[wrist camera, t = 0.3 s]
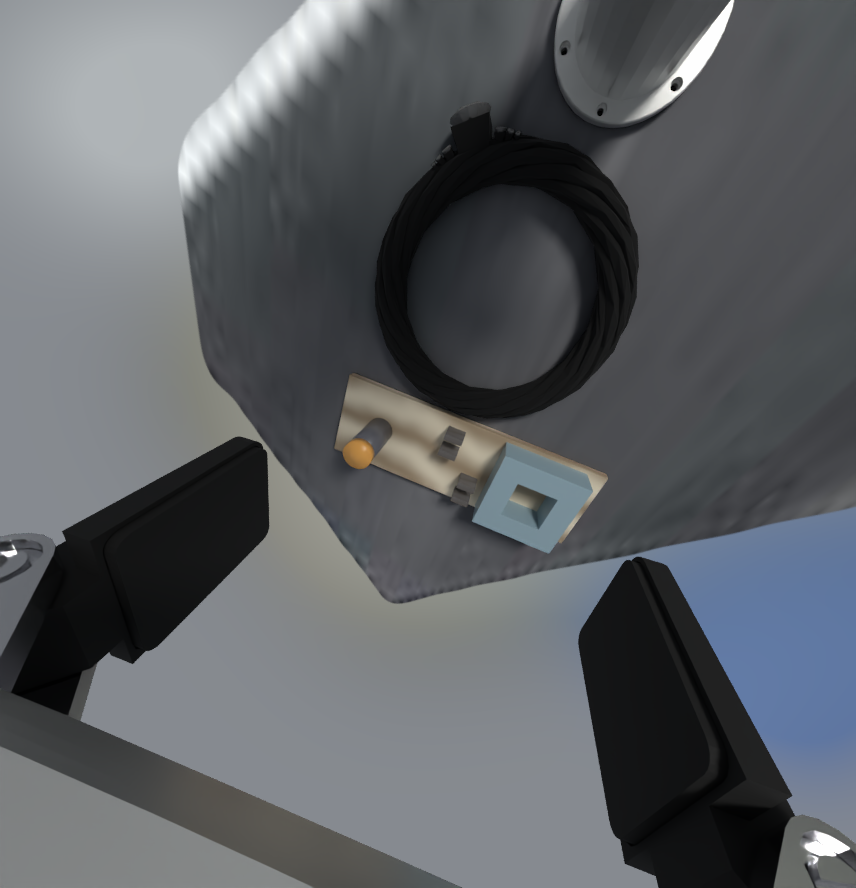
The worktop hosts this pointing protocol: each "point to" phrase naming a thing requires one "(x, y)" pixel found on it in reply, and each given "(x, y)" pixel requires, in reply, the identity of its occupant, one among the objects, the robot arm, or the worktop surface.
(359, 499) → the worktop surface
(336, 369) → the worktop surface
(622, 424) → the worktop surface
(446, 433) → the board
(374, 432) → the connector plug
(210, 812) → the robot arm
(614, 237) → the cable lock
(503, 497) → the end holder
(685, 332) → the worktop surface
